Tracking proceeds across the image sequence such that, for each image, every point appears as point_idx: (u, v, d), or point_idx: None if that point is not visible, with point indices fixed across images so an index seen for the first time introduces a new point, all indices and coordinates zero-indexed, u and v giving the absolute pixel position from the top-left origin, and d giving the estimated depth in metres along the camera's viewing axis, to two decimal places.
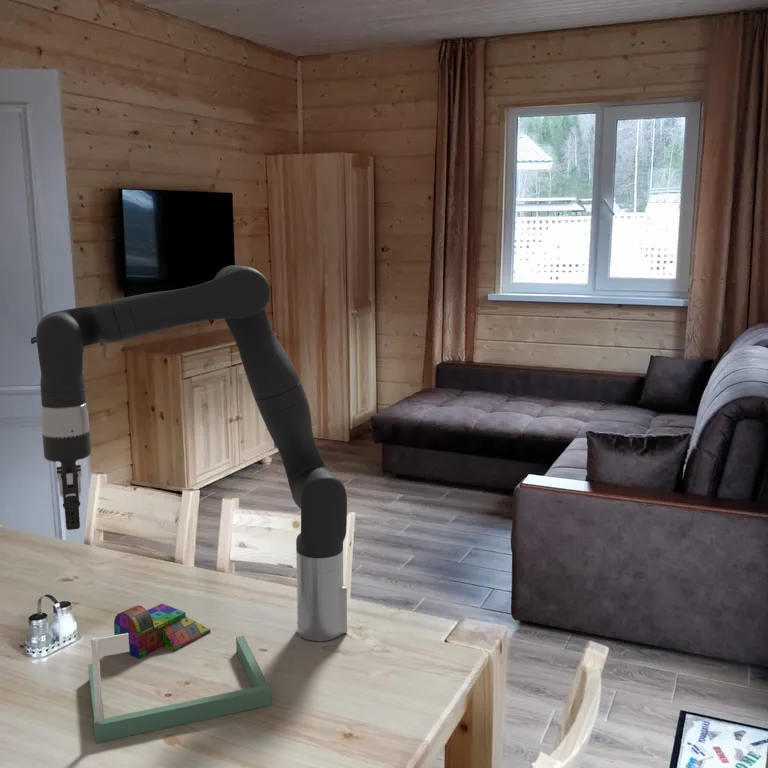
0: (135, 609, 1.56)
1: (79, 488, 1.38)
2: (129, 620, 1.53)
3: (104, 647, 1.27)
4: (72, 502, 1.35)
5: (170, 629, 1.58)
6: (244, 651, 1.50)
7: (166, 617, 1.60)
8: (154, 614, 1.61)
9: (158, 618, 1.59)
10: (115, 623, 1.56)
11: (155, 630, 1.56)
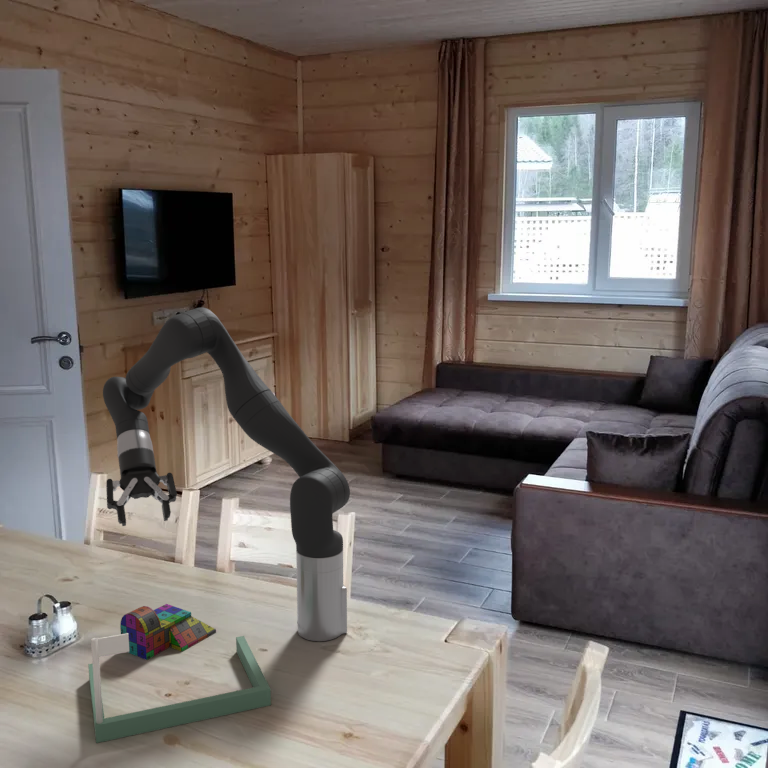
0: (142, 610, 1.55)
1: (123, 492, 1.73)
2: (136, 621, 1.53)
3: (104, 647, 1.27)
4: None
5: (177, 629, 1.58)
6: (244, 651, 1.50)
7: (172, 617, 1.60)
8: (160, 615, 1.61)
9: (164, 619, 1.59)
10: (121, 624, 1.56)
11: (162, 630, 1.56)
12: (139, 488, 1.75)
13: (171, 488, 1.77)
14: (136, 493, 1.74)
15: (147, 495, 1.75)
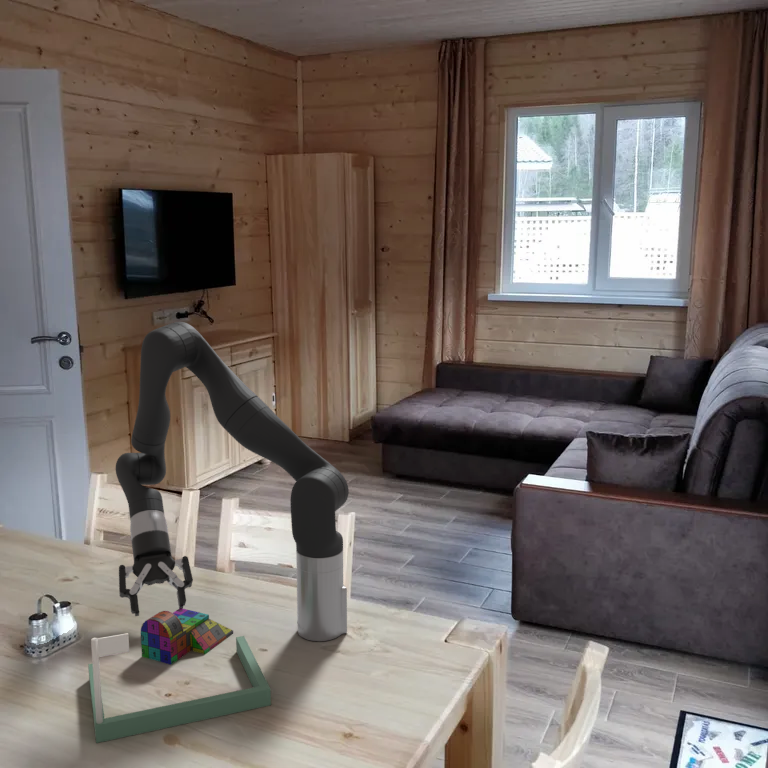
0: (163, 614, 1.53)
1: None
2: (159, 626, 1.51)
3: (104, 647, 1.27)
4: (120, 590, 1.63)
5: (198, 632, 1.57)
6: (244, 651, 1.50)
7: (191, 620, 1.58)
8: None
9: (183, 622, 1.58)
10: (142, 630, 1.53)
11: (184, 634, 1.55)
12: (153, 574, 1.66)
13: (187, 573, 1.67)
14: (150, 580, 1.65)
15: (161, 581, 1.66)
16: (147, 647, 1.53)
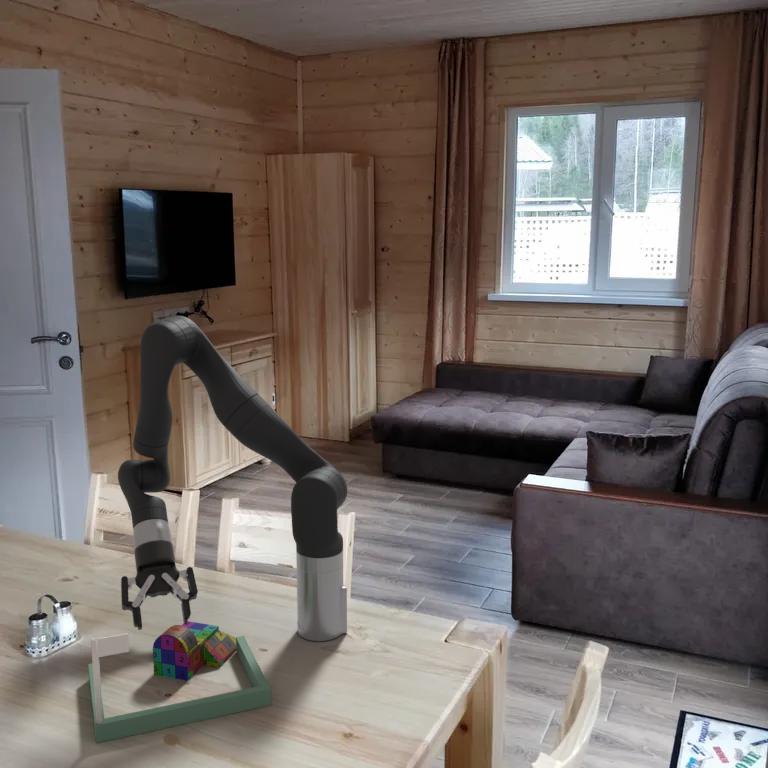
0: (177, 629, 1.48)
1: (139, 591, 1.58)
2: (175, 641, 1.45)
3: (104, 647, 1.27)
4: None
5: (210, 645, 1.52)
6: (244, 651, 1.50)
7: (202, 633, 1.53)
8: None
9: (195, 636, 1.52)
10: (154, 647, 1.47)
11: (198, 647, 1.49)
12: (157, 586, 1.60)
13: (191, 585, 1.61)
14: (153, 592, 1.59)
15: (165, 593, 1.60)
16: (160, 664, 1.47)
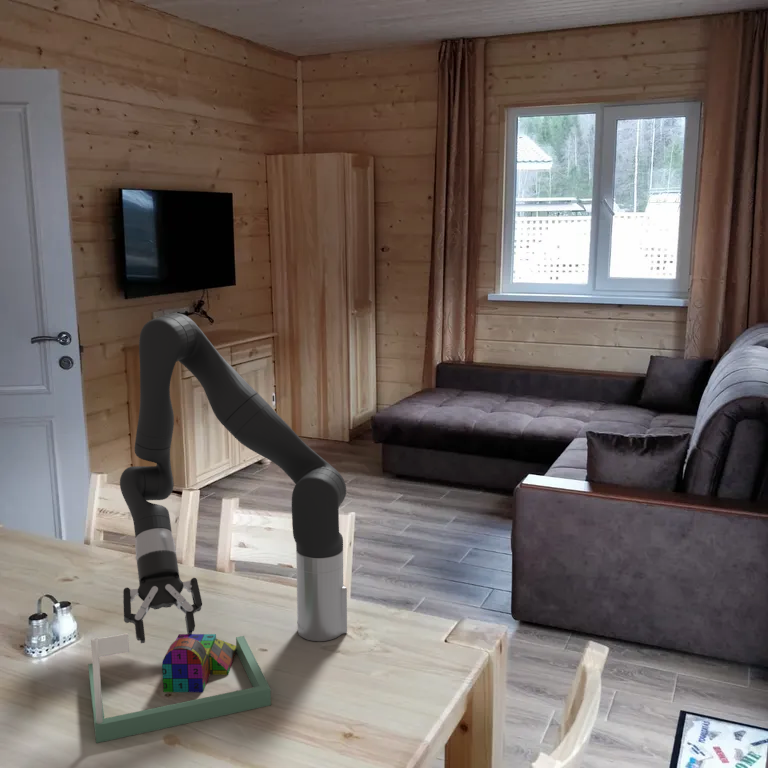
0: (185, 641, 1.43)
1: (142, 603, 1.53)
2: (188, 654, 1.41)
3: (104, 647, 1.27)
4: None
5: (215, 654, 1.49)
6: (244, 651, 1.50)
7: (203, 643, 1.50)
8: None
9: None
10: (164, 663, 1.42)
11: (207, 657, 1.46)
12: (160, 598, 1.55)
13: (196, 596, 1.57)
14: (156, 604, 1.54)
15: (169, 605, 1.56)
16: (171, 680, 1.42)
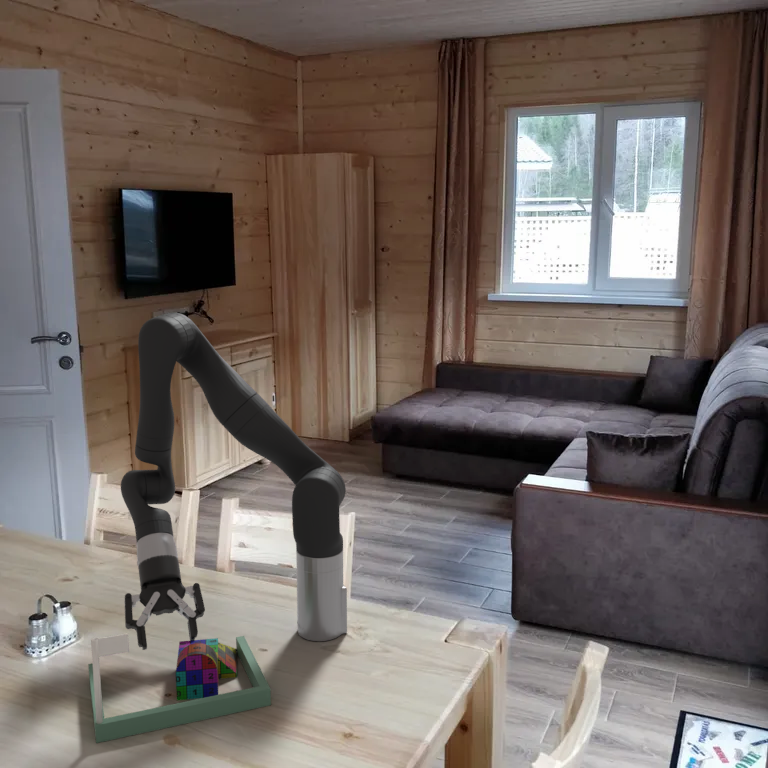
0: (197, 647, 1.41)
1: (144, 609, 1.51)
2: (203, 659, 1.40)
3: (104, 647, 1.27)
4: None
5: (222, 657, 1.48)
6: (244, 651, 1.50)
7: None
8: None
9: None
10: (178, 671, 1.39)
11: None
12: (162, 603, 1.52)
13: (198, 602, 1.54)
14: (158, 610, 1.52)
15: (171, 611, 1.53)
16: (185, 688, 1.40)
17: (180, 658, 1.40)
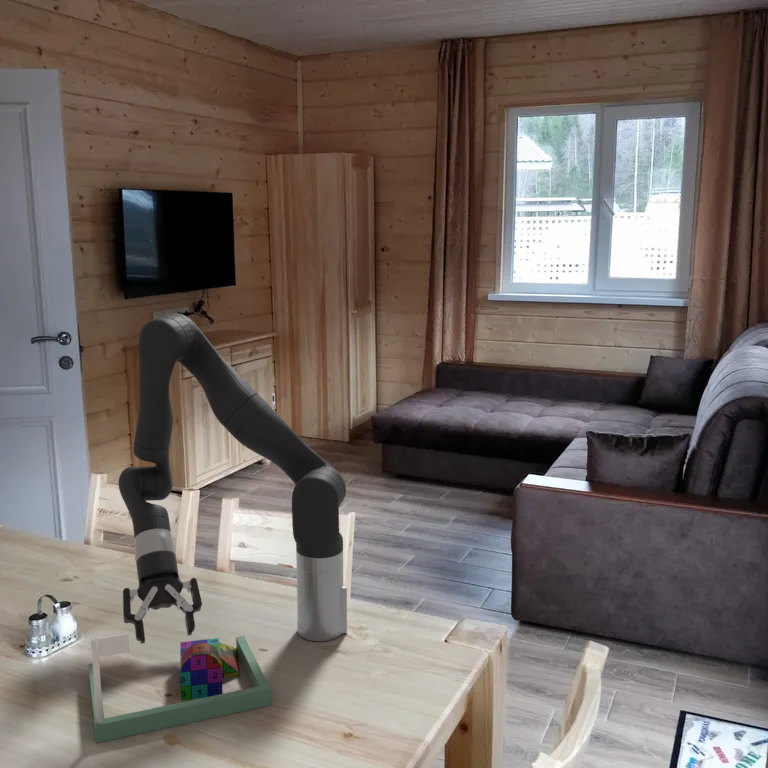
0: (201, 647, 1.41)
1: (142, 603, 1.53)
2: (207, 658, 1.40)
3: (104, 647, 1.27)
4: None
5: (224, 657, 1.48)
6: (244, 651, 1.50)
7: None
8: None
9: None
10: (183, 671, 1.39)
11: None
12: (160, 598, 1.55)
13: (195, 597, 1.57)
14: (156, 604, 1.54)
15: (168, 605, 1.55)
16: (189, 688, 1.40)
17: (184, 658, 1.40)
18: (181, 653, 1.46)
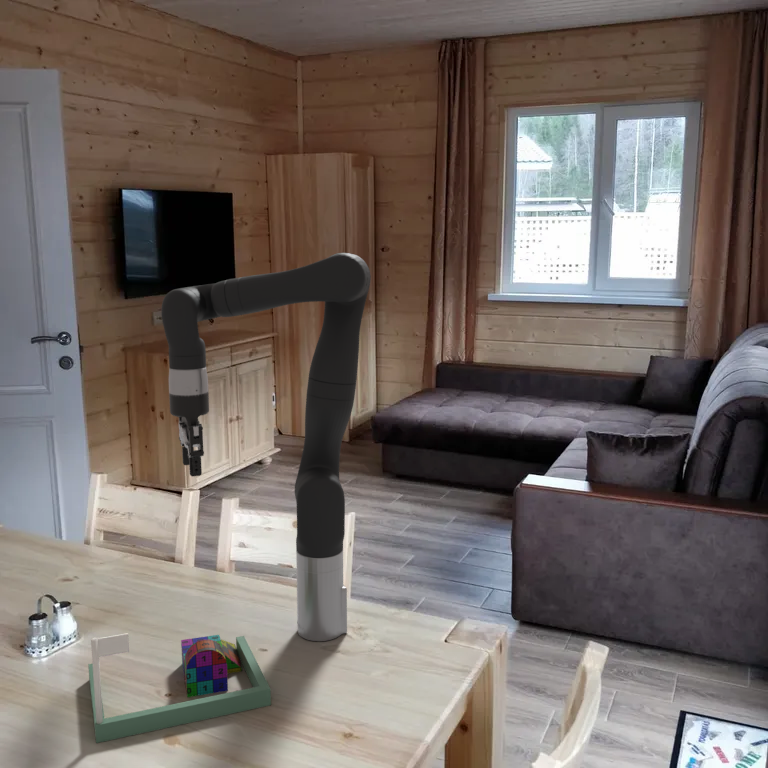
0: (206, 643, 1.43)
1: None
2: (213, 654, 1.41)
3: (104, 647, 1.27)
4: (197, 451, 1.56)
5: (226, 653, 1.49)
6: (244, 651, 1.50)
7: None
8: None
9: None
10: (188, 668, 1.40)
11: None
12: None
13: None
14: None
15: None
16: (195, 684, 1.41)
17: (189, 655, 1.41)
18: (183, 650, 1.47)
